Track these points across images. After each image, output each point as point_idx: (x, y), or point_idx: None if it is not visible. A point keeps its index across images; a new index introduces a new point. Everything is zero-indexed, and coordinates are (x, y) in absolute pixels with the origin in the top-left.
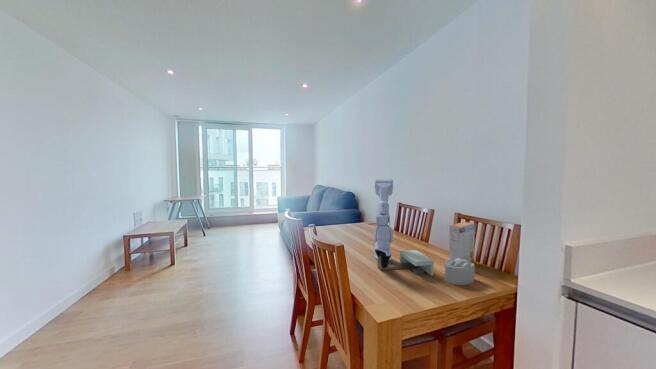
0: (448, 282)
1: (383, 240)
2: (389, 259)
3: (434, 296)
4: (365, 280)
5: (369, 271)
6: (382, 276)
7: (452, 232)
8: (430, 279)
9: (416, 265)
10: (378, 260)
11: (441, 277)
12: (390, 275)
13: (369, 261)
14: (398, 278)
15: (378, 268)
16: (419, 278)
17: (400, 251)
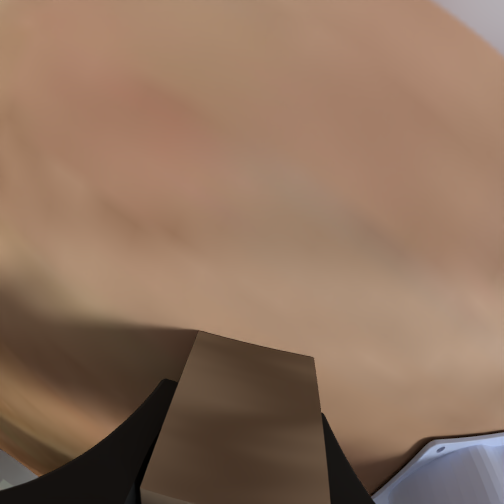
0: (2, 450)
1: None
2: (379, 498)
3: None
4: (34, 2)
5: (240, 162)
6: (38, 237)
7: None
8: (15, 441)
9: (4, 484)
10: (274, 449)
11: None
12: (51, 329)
13: (501, 361)
14: (3, 336)
15: (275, 350)
16: (18, 423)
17: None
